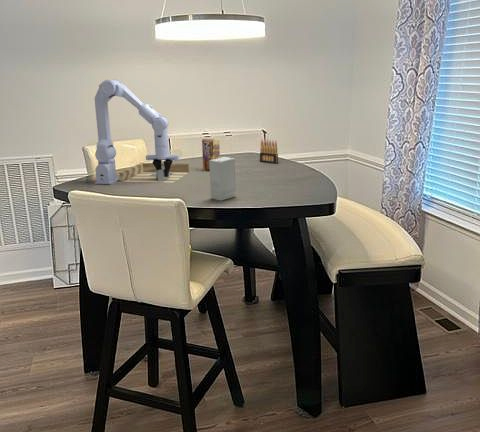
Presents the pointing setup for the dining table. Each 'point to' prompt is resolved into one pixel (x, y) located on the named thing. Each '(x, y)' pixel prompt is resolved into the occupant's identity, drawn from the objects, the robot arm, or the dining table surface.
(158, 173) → the bracket
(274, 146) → the ammunition clip
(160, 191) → the dining table surface
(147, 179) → the arena
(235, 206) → the dining table surface
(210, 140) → the candy box
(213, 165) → the skincare box
